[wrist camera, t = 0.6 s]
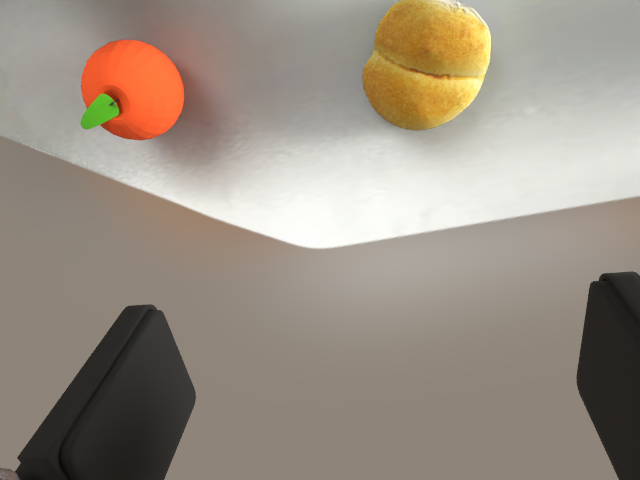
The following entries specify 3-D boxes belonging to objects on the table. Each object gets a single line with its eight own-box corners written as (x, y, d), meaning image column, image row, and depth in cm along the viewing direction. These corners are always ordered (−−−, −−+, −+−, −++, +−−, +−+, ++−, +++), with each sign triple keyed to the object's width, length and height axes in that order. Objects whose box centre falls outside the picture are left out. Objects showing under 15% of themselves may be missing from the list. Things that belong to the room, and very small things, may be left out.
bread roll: (352, 106, 37) (349, 121, 33) (392, -21, 32) (393, -18, 29) (453, 138, 37) (460, 156, 34) (506, 17, 33) (521, 24, 29)
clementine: (143, 145, 40) (101, 178, 34) (83, 73, 38) (26, 95, 32) (215, 95, 38) (183, 122, 31) (156, 13, 35) (108, 24, 29)
